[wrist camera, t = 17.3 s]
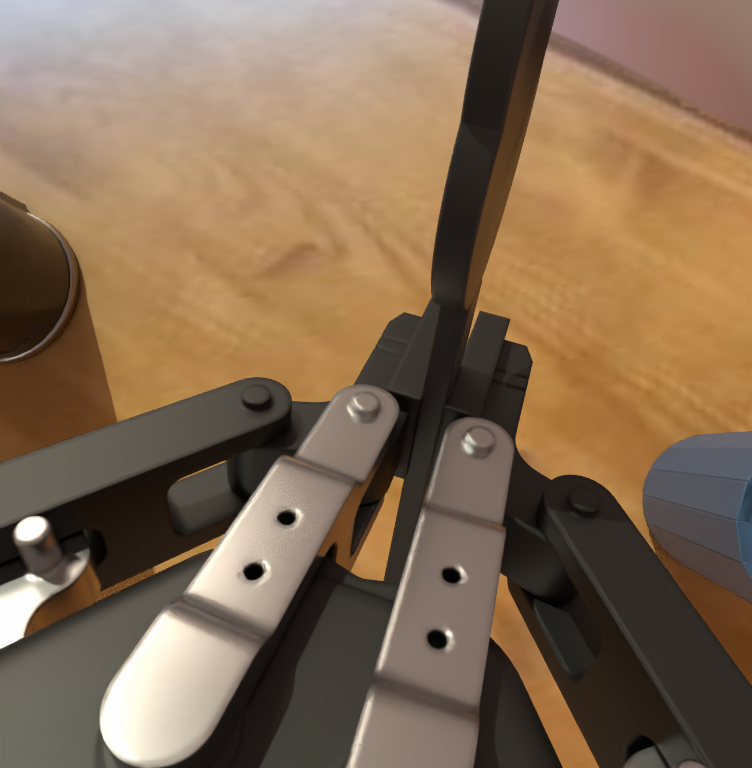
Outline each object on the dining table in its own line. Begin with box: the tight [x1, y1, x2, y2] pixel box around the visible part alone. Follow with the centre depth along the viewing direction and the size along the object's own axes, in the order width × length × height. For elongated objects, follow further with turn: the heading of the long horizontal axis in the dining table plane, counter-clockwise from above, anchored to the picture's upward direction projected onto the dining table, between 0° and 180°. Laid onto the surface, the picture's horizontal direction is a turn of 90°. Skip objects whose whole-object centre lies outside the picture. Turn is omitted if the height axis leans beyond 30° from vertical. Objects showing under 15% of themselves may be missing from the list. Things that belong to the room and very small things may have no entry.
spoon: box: [384, 0, 559, 583], centre depth 16 cm, size 1×4×28 cm
